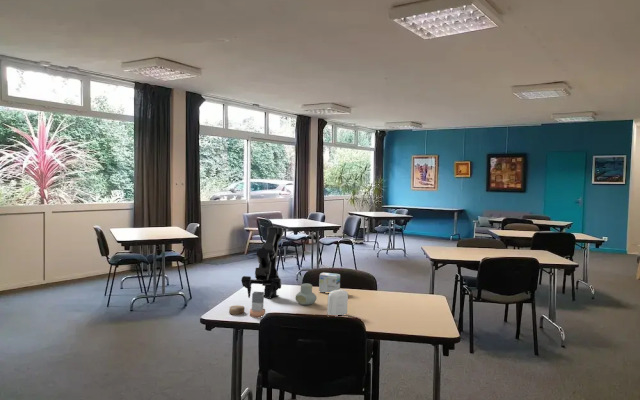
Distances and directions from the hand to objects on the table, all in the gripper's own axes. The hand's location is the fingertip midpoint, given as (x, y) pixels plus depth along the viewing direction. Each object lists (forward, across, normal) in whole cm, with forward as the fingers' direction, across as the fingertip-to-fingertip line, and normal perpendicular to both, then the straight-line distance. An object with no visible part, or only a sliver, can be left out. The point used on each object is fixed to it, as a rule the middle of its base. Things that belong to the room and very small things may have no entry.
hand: (258, 298), depth 204 cm
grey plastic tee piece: (-10, +20, +22) cm, 31 cm away
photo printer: (+1, +37, +10) cm, 38 cm away
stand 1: (+5, -10, +6) cm, 13 cm away
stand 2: (+6, 0, +5) cm, 8 cm away
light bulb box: (-28, +31, +40) cm, 58 cm away
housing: (+5, 0, +3) cm, 5 cm away
